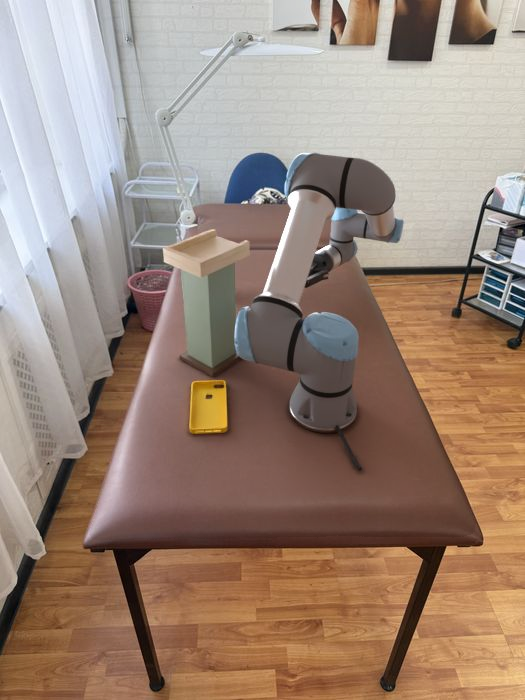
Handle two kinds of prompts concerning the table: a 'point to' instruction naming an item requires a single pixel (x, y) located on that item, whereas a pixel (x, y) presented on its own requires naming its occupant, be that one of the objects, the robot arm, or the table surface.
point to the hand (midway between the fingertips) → (277, 287)
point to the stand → (208, 297)
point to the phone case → (208, 407)
